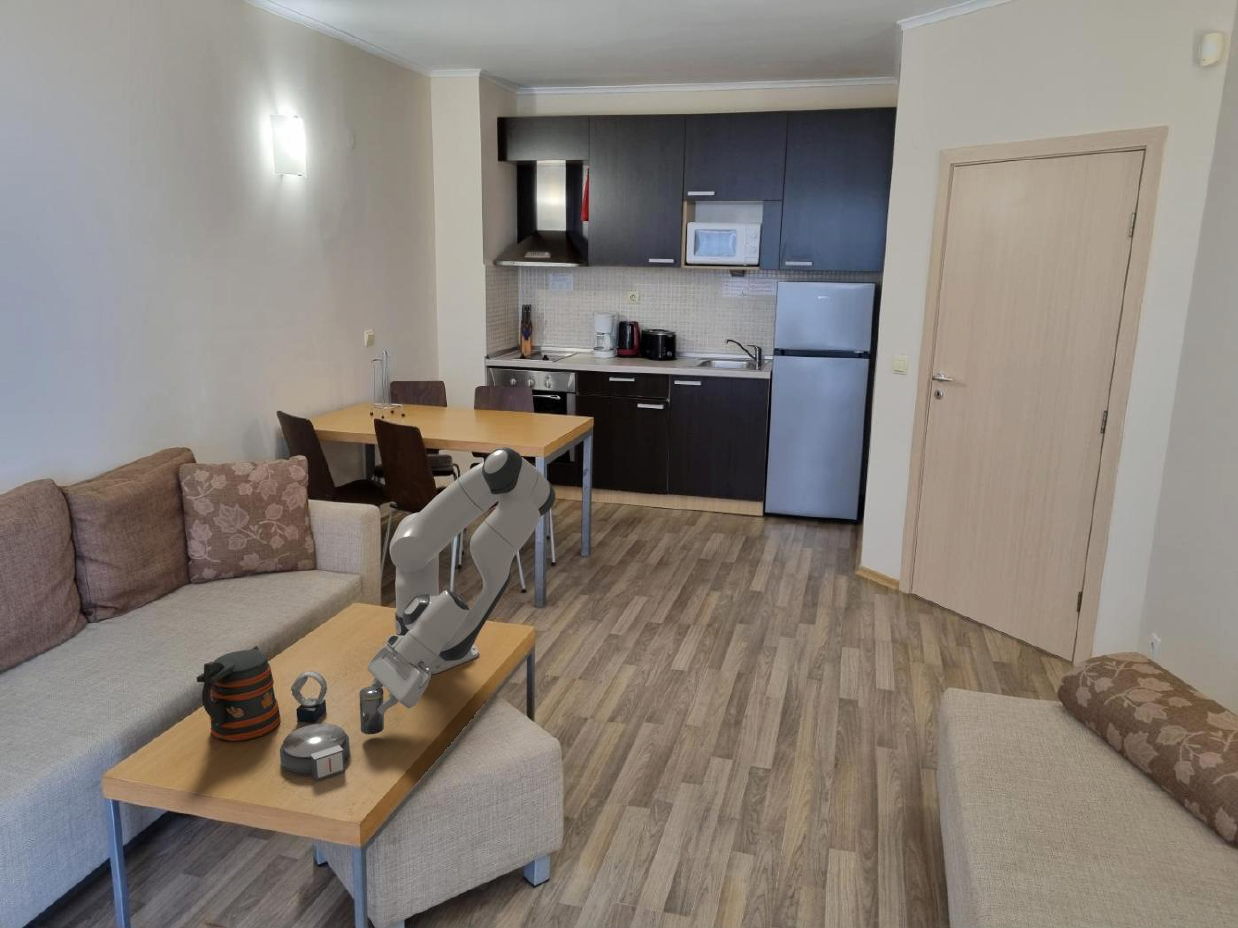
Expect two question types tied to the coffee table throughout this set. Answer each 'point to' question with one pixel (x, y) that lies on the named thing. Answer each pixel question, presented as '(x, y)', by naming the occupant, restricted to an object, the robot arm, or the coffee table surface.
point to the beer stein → (240, 695)
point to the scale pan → (313, 740)
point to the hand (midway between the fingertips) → (373, 705)
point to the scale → (318, 762)
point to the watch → (311, 706)
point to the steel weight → (371, 710)
